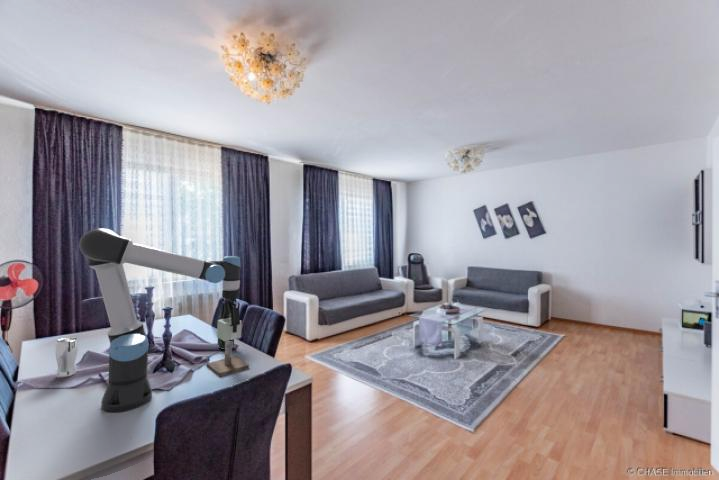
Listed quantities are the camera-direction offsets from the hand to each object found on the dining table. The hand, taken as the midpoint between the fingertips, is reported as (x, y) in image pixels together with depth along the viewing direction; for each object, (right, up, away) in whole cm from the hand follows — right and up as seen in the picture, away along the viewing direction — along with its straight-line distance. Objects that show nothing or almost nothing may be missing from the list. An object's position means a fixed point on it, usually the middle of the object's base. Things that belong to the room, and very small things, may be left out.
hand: (229, 336), depth 150 cm
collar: (0, 0, 0) cm, 0 cm away
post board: (-1, -15, 0) cm, 15 cm away
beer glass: (-64, -12, -15) cm, 67 cm away
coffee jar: (-12, -14, +25) cm, 31 cm away
